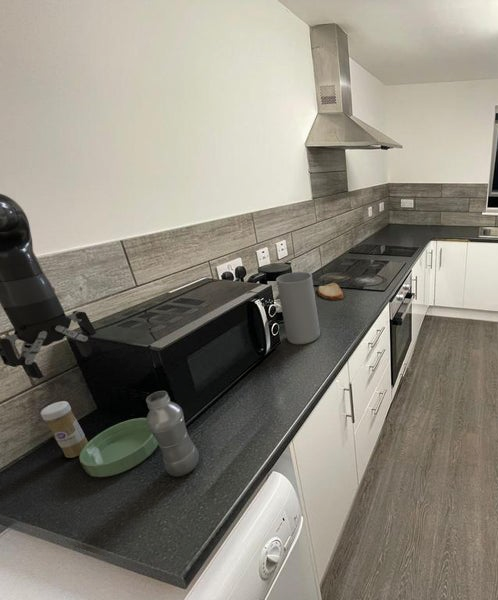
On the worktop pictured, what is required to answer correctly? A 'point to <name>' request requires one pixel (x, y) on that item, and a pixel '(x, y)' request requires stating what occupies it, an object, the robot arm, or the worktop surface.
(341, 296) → the slice of bread
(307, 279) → the cylinder vase
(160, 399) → the plastic bottle
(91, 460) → the bowl
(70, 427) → the sprinkles bottle
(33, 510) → the worktop surface
